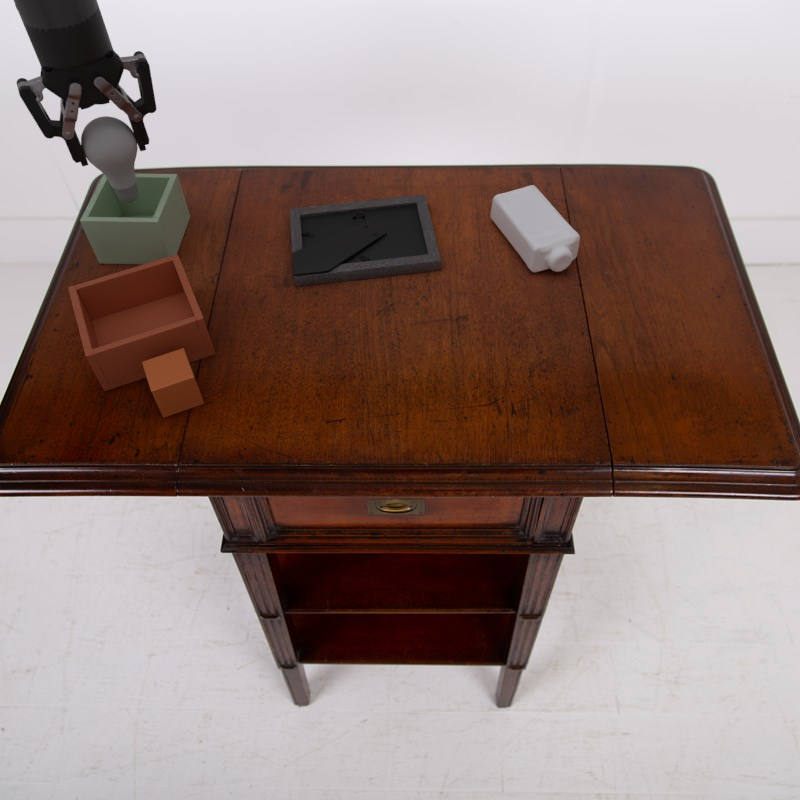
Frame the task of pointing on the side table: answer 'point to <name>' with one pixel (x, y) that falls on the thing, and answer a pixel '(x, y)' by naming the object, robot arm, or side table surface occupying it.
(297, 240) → the picture frame
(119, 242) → the sage bin
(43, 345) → the side table surface
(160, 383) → the block
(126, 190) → the lightbulb
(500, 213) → the white bottle
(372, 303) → the side table surface
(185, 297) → the terracotta bin
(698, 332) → the side table surface
